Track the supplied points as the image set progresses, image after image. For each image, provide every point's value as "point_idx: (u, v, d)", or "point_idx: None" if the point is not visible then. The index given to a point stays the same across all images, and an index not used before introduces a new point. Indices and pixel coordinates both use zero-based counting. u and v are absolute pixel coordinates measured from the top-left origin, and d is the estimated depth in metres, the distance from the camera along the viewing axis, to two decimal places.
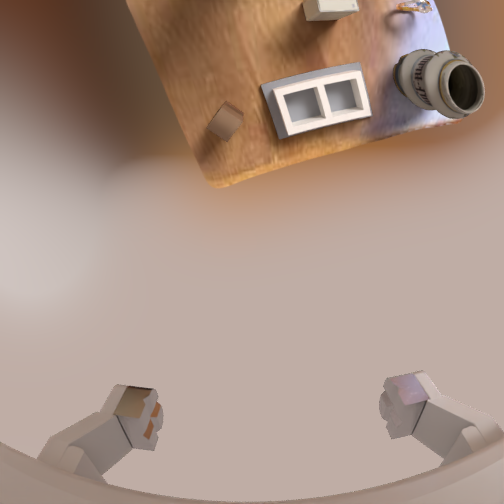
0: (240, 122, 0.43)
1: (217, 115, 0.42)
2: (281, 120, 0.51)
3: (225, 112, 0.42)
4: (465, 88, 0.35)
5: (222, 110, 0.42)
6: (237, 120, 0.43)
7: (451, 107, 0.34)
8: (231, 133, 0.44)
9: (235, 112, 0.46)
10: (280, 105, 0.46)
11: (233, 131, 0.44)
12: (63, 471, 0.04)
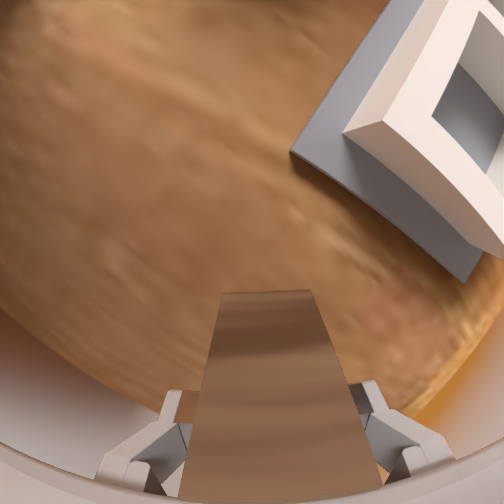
0: (369, 490, 0.04)
1: None
2: (443, 223, 0.12)
3: None
4: None
5: (199, 502, 0.04)
6: (342, 495, 0.04)
7: None
8: None
9: (287, 366, 0.08)
10: (453, 176, 0.07)
11: None
12: (63, 471, 0.04)
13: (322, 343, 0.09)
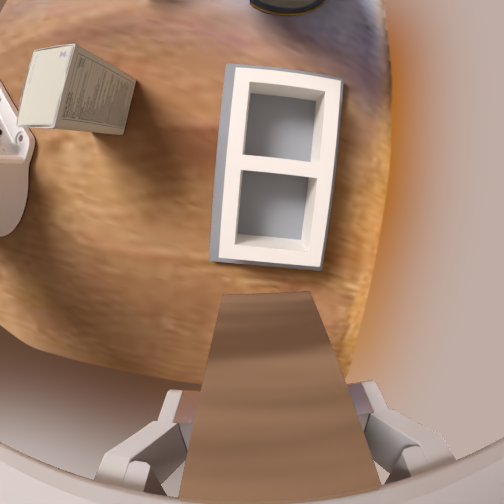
0: (368, 491, 0.04)
1: None
2: None
3: None
4: None
5: None
6: (341, 497, 0.04)
7: None
8: None
9: (287, 368, 0.08)
10: (253, 258, 0.25)
11: None
12: (63, 471, 0.04)
13: (321, 345, 0.09)
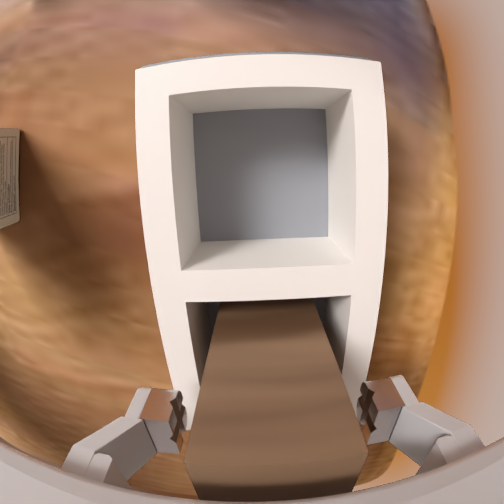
0: (357, 458, 0.05)
1: (204, 488, 0.06)
2: None
3: (228, 470, 0.05)
4: None
5: (203, 468, 0.05)
6: (332, 463, 0.05)
7: None
8: None
9: (283, 350, 0.09)
10: None
11: (343, 491, 0.06)
12: (63, 471, 0.04)
13: (315, 330, 0.10)
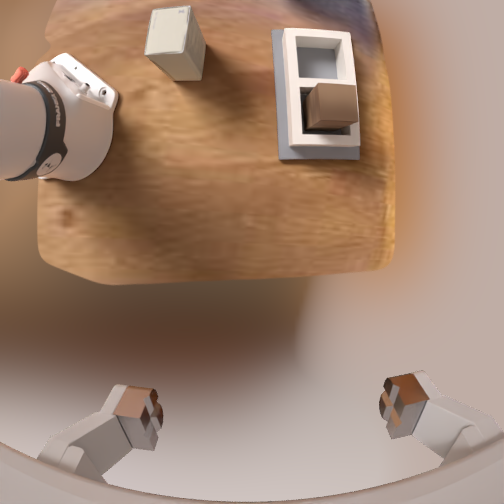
0: (353, 86, 0.26)
1: (321, 94, 0.26)
2: (335, 148, 0.37)
3: (327, 85, 0.26)
4: None
5: (322, 84, 0.26)
6: (348, 86, 0.26)
7: None
8: (354, 107, 0.27)
9: None
10: (316, 142, 0.33)
11: (355, 103, 0.26)
12: (63, 471, 0.04)
13: None
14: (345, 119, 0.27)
